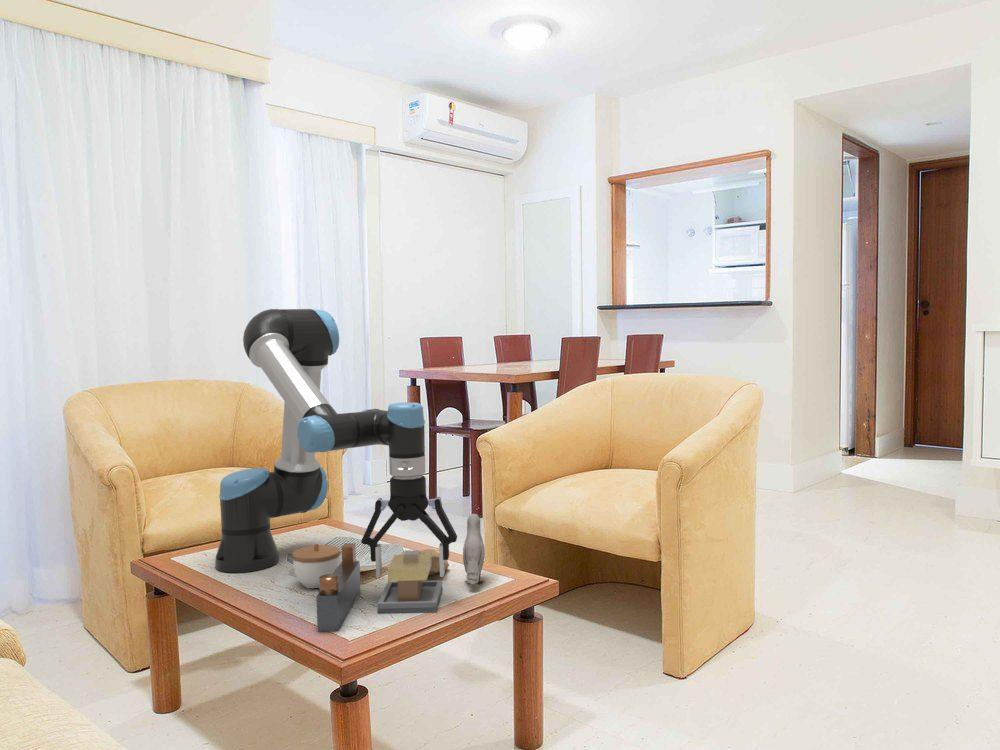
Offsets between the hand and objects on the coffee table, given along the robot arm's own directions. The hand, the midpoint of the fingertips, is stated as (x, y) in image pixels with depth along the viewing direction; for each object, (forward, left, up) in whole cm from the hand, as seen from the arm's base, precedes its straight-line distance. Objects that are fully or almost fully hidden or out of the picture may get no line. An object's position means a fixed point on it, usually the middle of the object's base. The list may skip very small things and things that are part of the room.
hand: (410, 575), depth 159 cm
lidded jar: (-12, -23, -6) cm, 27 cm away
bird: (-11, +13, -6) cm, 18 cm away
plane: (+5, -14, -5) cm, 16 cm away
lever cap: (0, 0, +1) cm, 1 cm away
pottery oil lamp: (-16, +3, -6) cm, 18 cm away
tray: (0, 0, -5) cm, 5 cm away
